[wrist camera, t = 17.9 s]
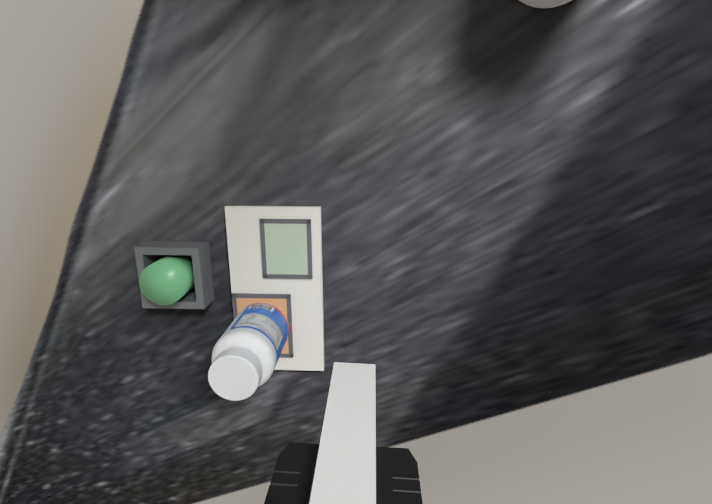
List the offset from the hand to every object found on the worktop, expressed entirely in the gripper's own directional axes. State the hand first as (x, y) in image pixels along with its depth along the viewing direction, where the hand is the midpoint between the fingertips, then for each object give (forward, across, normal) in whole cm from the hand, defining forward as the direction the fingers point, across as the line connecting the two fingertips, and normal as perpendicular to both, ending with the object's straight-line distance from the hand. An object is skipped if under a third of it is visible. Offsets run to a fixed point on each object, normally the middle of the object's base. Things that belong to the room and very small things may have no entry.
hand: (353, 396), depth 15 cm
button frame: (+25, -18, -4) cm, 31 cm away
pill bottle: (+25, -10, -9) cm, 28 cm away
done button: (+25, -18, -4) cm, 31 cm away
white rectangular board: (+25, -8, -6) cm, 27 cm away
